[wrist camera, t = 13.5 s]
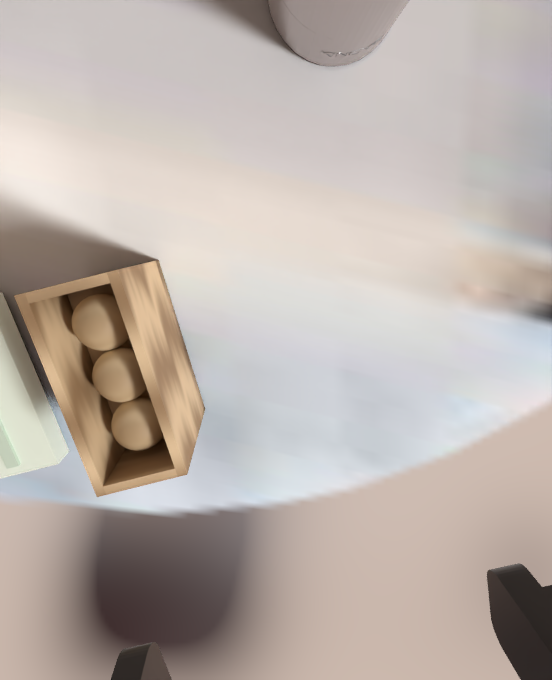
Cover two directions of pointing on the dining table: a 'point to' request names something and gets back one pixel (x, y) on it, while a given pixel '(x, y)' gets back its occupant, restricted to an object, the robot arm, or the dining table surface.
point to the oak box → (118, 374)
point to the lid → (23, 408)
